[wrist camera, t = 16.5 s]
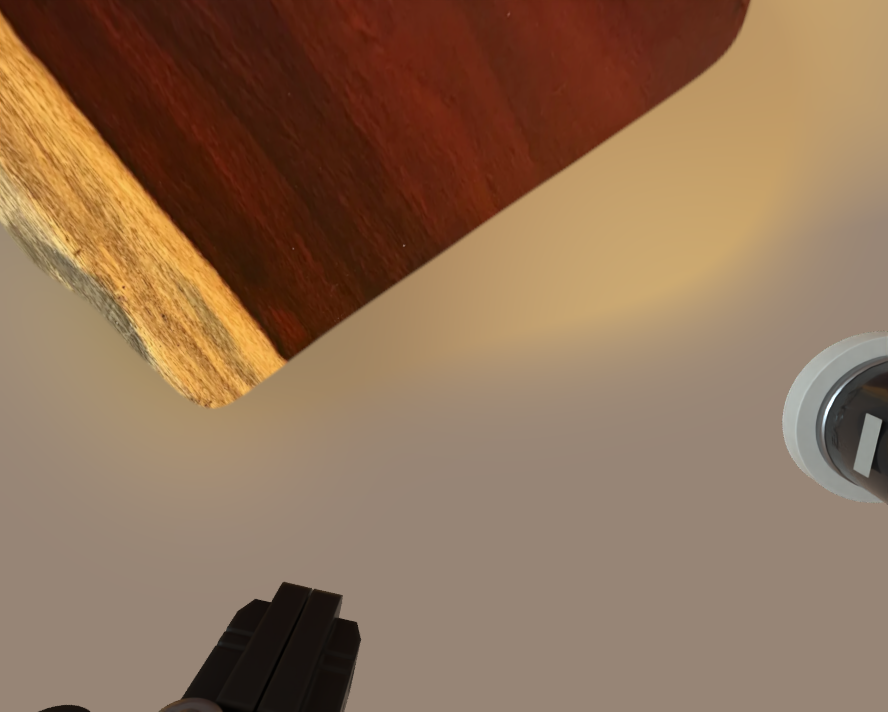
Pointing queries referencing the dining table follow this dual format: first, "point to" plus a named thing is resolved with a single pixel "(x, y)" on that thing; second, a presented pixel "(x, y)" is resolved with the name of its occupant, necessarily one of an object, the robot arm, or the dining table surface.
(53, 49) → the dining table surface
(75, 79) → the dining table surface
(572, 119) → the dining table surface
